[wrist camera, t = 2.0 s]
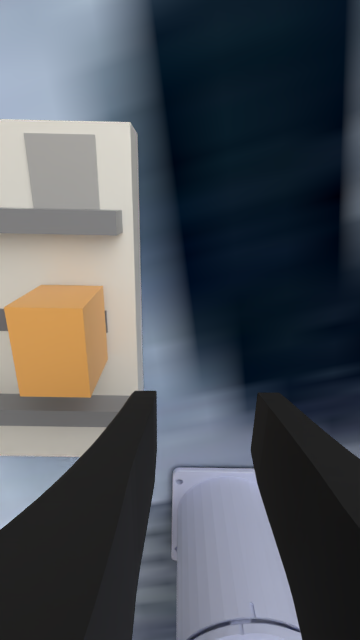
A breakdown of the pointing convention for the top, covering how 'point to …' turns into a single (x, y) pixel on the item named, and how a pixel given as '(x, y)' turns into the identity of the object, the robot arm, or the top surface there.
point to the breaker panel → (70, 266)
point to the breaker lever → (58, 340)
